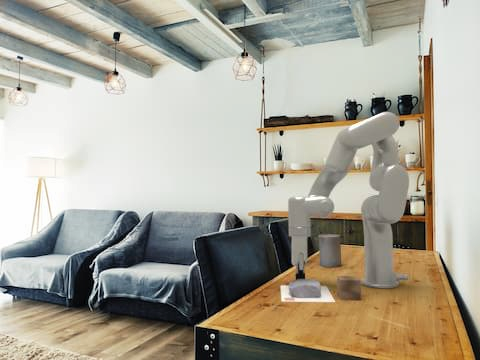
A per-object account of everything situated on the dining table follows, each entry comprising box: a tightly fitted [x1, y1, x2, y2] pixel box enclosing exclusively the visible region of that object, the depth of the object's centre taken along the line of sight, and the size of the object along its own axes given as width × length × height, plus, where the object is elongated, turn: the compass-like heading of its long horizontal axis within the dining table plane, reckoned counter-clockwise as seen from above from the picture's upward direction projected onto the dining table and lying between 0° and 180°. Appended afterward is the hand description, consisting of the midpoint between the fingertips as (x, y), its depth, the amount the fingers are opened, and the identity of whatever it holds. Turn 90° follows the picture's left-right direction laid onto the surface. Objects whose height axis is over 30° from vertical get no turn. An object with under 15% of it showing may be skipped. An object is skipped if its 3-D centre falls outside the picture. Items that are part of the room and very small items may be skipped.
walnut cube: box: [336, 275, 362, 301], centre depth 116 cm, size 6×6×6 cm
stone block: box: [288, 278, 322, 298], centre depth 122 cm, size 12×5×10 cm
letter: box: [280, 284, 336, 303], centre depth 122 cm, size 16×20×1 cm
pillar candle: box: [318, 232, 342, 268], centre depth 169 cm, size 10×10×15 cm
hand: (300, 284), depth 129 cm, fingers closed
